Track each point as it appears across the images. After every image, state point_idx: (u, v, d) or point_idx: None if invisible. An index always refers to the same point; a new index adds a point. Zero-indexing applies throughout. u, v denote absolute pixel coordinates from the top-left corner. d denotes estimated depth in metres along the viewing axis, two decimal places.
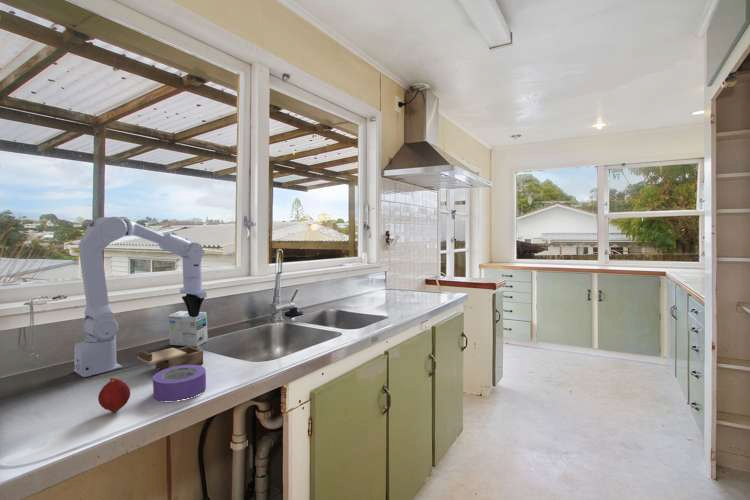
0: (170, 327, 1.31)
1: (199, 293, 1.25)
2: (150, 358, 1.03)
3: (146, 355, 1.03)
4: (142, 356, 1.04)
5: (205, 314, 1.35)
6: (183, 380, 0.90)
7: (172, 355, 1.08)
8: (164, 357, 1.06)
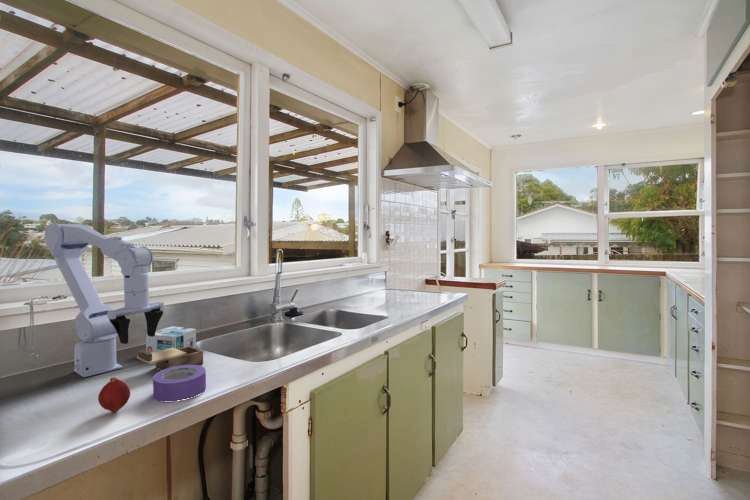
0: None
1: None
2: (150, 358, 1.03)
3: (146, 355, 1.03)
4: (142, 356, 1.04)
5: (173, 338, 1.21)
6: (183, 380, 0.90)
7: (172, 355, 1.08)
8: (164, 357, 1.06)
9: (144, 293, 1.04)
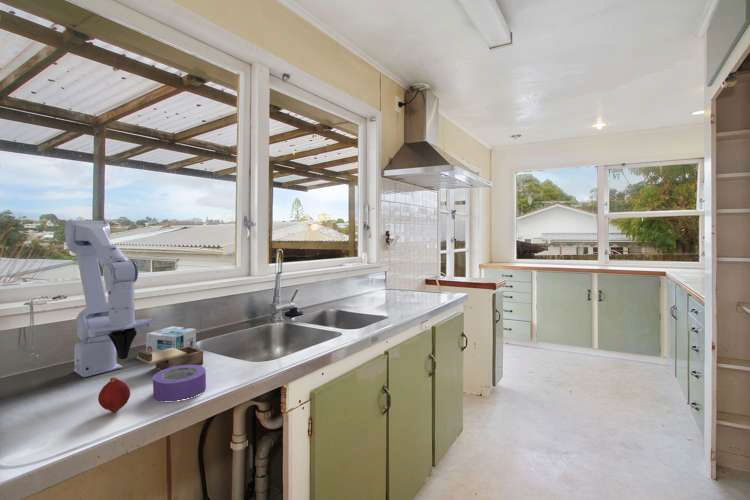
0: None
1: None
2: (150, 358, 1.03)
3: (146, 355, 1.03)
4: (142, 356, 1.04)
5: (173, 338, 1.21)
6: (183, 380, 0.90)
7: (172, 355, 1.08)
8: (164, 357, 1.06)
9: (127, 310, 0.98)
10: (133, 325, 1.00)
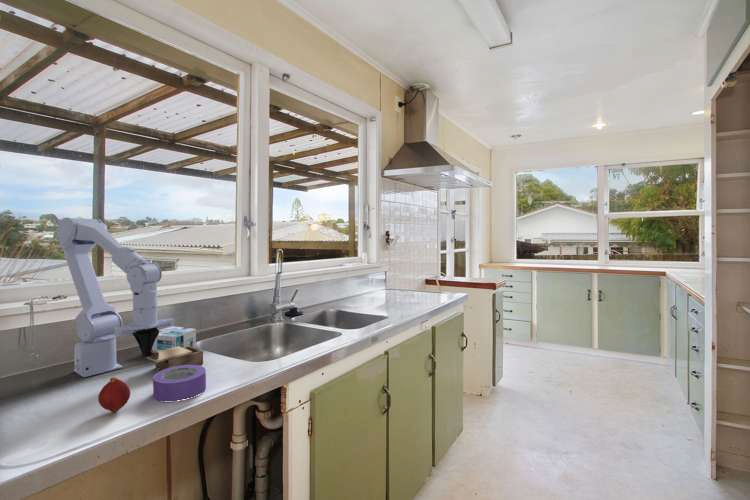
0: None
1: None
2: (157, 356, 1.04)
3: (153, 353, 1.05)
4: None
5: (173, 338, 1.21)
6: (183, 380, 0.90)
7: (178, 354, 1.09)
8: (170, 355, 1.07)
9: (151, 310, 1.03)
10: (156, 325, 1.04)
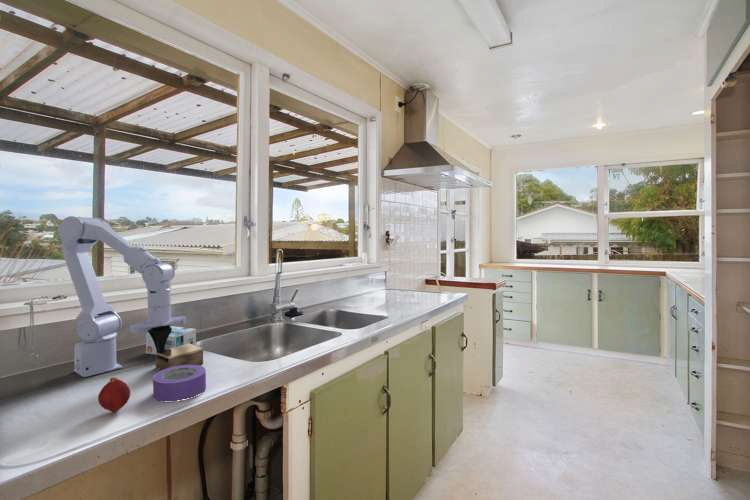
0: None
1: None
2: (169, 353, 1.07)
3: (165, 350, 1.07)
4: None
5: (173, 338, 1.21)
6: (183, 380, 0.90)
7: (190, 351, 1.12)
8: (182, 352, 1.10)
9: (165, 308, 1.06)
10: (170, 322, 1.07)
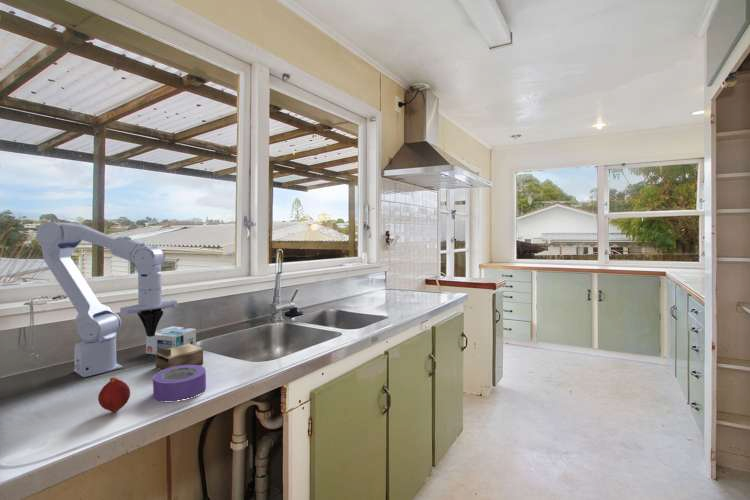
0: None
1: None
2: (169, 353, 1.07)
3: (165, 350, 1.07)
4: (161, 351, 1.09)
5: (173, 338, 1.21)
6: (183, 380, 0.90)
7: (190, 351, 1.12)
8: (182, 352, 1.10)
9: (155, 292, 1.07)
10: (160, 305, 1.08)
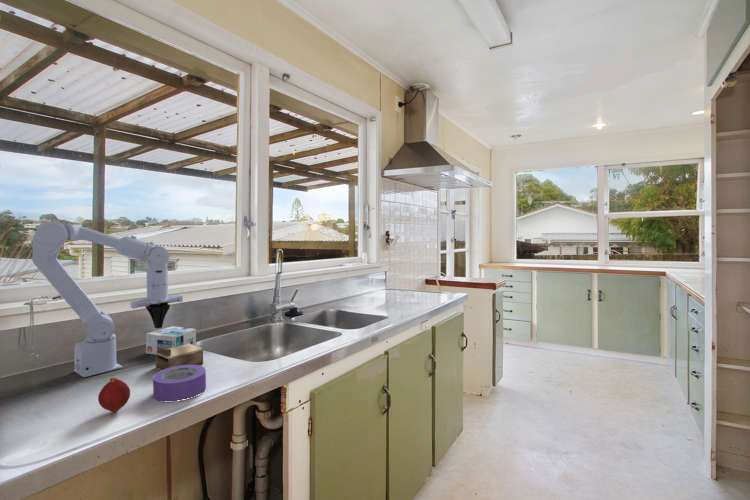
0: None
1: None
2: (169, 353, 1.07)
3: (165, 350, 1.07)
4: (161, 351, 1.09)
5: (173, 338, 1.21)
6: (183, 380, 0.90)
7: (190, 351, 1.12)
8: (182, 352, 1.10)
9: (162, 287, 1.16)
10: (167, 299, 1.17)
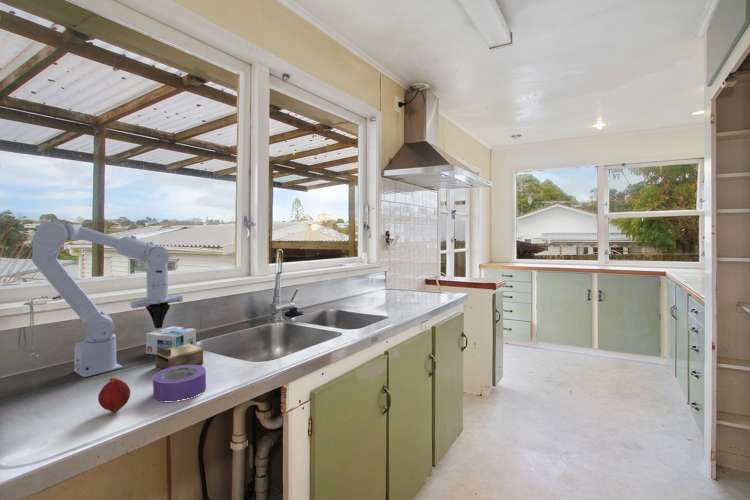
0: None
1: None
2: (169, 353, 1.07)
3: (165, 350, 1.07)
4: (161, 351, 1.09)
5: (173, 338, 1.21)
6: (183, 380, 0.90)
7: (190, 351, 1.12)
8: (182, 352, 1.10)
9: (162, 287, 1.16)
10: (167, 299, 1.17)
